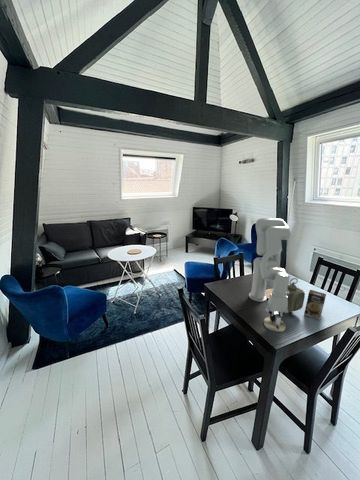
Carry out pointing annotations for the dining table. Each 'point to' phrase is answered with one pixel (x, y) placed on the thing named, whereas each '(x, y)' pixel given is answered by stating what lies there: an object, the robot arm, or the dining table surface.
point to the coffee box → (315, 304)
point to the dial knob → (277, 320)
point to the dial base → (271, 326)
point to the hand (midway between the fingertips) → (275, 320)
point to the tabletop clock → (295, 297)
